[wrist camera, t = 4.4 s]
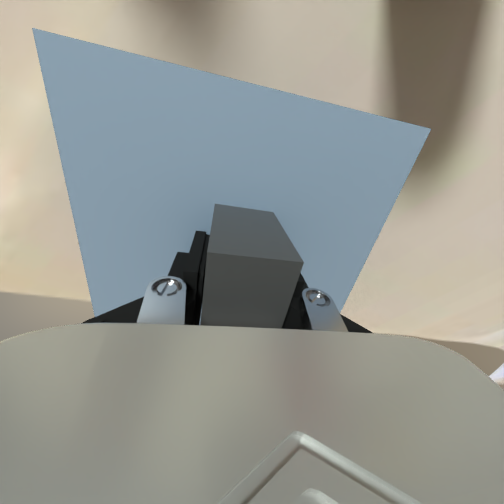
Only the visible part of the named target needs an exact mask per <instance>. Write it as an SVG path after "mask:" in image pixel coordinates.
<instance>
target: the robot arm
mask: <svg viewBox="0 0 504 504" xmlns="http://www.w3.org/2000/svg"><path fill="white" fill-rule="evenodd" d="M209 237H210V235H208V234H206V232H205V231H196V232H195V235H194V238H193V242H192V245H191V248H190V251H189V253H186V252H177V254H176V257H175V259H174V261H173V264H172V266H171V269H170V271H169V273H168V276H163V277H159V278H156V279H154V280H152V281H151V282H150V283H149V284H148V286H147V289H146V292H145V296H144V297H141V298H139V299H137V300H134V301H132V302H130V303H127V304H125V305H122V306H120V307H118V308H115V309H113V310H111V311H108V312H106V313H103V314H101V315H99V316H96V317H94V318H92V319H89V320H87V321H85V322H83V323H81V324H73V325H64V326H56V327H51V328H46V329H42V330H37V331H32V332H28V333H24V334H21V335H18V336H14V337H11V338H8V339H5V340H2V341H0V504H504V390H503V389H502V388H501V387H500V386H499V385H497V384H496V383H495V382H494V381H493V380H492V379H491V378H490V377H488V376H487V375H486V374H484V372H482V371H481V370H480V369H479V368H478V367H477V366H475V365H474V364H473V363H472V362H470V361H469V360H468V359H467V358H465V357H464V356H462V355H461V354H459V353H457V352H455V351H453V350H451V349H448V348H446V347H444V346H441V345H438V344H435V343H432V342H430V341H426V340H422V339H417V338H413V337H407V336H399V335H388V334H376V333H372V332H371V331H369V330H367V329H365V328H364V327H362V326H360V325H358V324H357V323H355V322H353V321H351V320H350V319H348V318H346V317H344V316H343V315H341V314H340V313H339V311H338V309H337V307H336V305H335V303H334V301H333V299H332V298H331V297H330V296H329V295H328V294H327V293H325V292H324V291H322V290H319V289H316V288H309V287H308V285H307V283H306V282H305V280H304V278H303V276H302V274H301V273H300V276H299V278H298V281H297V284H296V287H295V290H294V293H293V296H292V299H291V302H290V305H289V308H288V311H287V314H286V317H285V319H284V322H283V325H282V328H281V329H276V328H253V327H229V326H203V325H199V323H200V316H201V309H202V301H203V291H204V280H205V269H206V259H207V250H208V244H209Z"/></svg>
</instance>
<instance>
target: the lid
mask: <svg viewBox="0 0 504 504" xmlns="http://www.w3.org/2000/svg"><path fill="white" fill-rule="evenodd" d="M32 30H33V34H34V39H35V43H36V48H37V53H38V57H39V62H40V66H41V71H42V76H43V80H44V85H45V89H46V94H47V99H48V103H49V108H50V112H51V117H52V122H53V126H54V131H55V135H56V140H57V145H58V149H59V154H60V158H61V163H62V168H63V172H64V177H65V181H66V186H67V191H68V195H69V200H70V204H71V209H72V214H73V218H74V223H75V227H76V232H77V237H78V241H79V246H80V250H81V255H82V260H83V264H84V269H85V273H86V278H87V283H88V287H89V292H90V296H91V301H92V306H93V310H94V315H95V317H96V316H99V315H101V314H103V313H106V312H108V311H111V310H113V309H115V308H118V307H120V306H122V305H125V304H127V303H130V302H132V301H134V300H137V299H139V298H141V297H144V296H145V292H146V289H147V286H148V284H149V283H150V282H151V281H152V280H154V279H156V278H159V277H163V276H168V273H169V271H170V269H171V266H172V264H173V261H174V259H175V257H176V254H177V252H186V253H189V251H190V248H191V245H192V242H193V238H194V235H195V232H196V231H205V232H206V234H208V235H210V237H209V244H208V250H207V259H206V269H205V280H204V291H203V301H202V309H201V316H200V323H199V325H203V326H229V327H253V328H276V329H281V328H282V325H283V322H284V319H285V317H286V314H287V311H288V308H289V305H290V302H291V299H292V296H293V293H294V290H295V287H296V284H297V281H298V278H299V276H300V273H301V274H302V276H303V278H304V280H305V282H306V283H307V285H308V287H309V288H316V289H319V290H322V291H324V292H325V293H327V294H328V295H329V296H330V297H331V298H332V299H333V301H334V303H335V305H336V307H337V309H338V311H339V313H340V312H341V310H342V308H343V306H344V304H345V302H346V300H347V298H348V296H349V294H350V292H351V290H352V288H353V286H354V284H355V282H356V280H357V278H358V276H359V274H360V272H361V270H362V268H363V266H364V264H365V261H366V259H367V257H368V255H369V253H370V251H371V249H372V247H373V245H374V243H375V241H376V239H377V237H378V235H379V233H380V231H381V229H382V227H383V225H384V223H385V221H386V219H387V217H388V215H389V213H390V211H391V209H392V207H393V205H394V203H395V201H396V199H397V197H398V195H399V193H400V191H401V189H402V187H403V185H404V183H405V181H406V179H407V177H408V175H409V173H410V171H411V169H412V167H413V165H414V163H415V161H416V159H417V157H418V155H419V153H420V151H421V149H422V147H423V145H424V143H425V141H426V139H427V137H428V135H429V133H430V131H431V129H430V128H426V127H422V126H418V125H414V124H410V123H406V122H402V121H398V120H394V119H390V118H386V117H382V116H378V115H374V114H370V113H367V112H363V111H359V110H355V109H351V108H347V107H343V106H339V105H335V104H331V103H327V102H323V101H319V100H315V99H311V98H307V97H303V96H299V95H295V94H291V93H287V92H284V91H280V90H276V89H272V88H268V87H264V86H260V85H256V84H252V83H248V82H244V81H240V80H236V79H232V78H228V77H224V76H220V75H216V74H212V73H208V72H204V71H201V70H197V69H193V68H189V67H185V66H181V65H177V64H173V63H169V62H165V61H161V60H157V59H153V58H149V57H145V56H141V55H137V54H133V53H129V52H125V51H121V50H118V49H114V48H110V47H106V46H102V45H98V44H94V43H90V42H86V41H82V40H78V39H74V38H70V37H66V36H62V35H58V34H54V33H50V32H46V31H42V30H38V29H35V28H32Z"/></svg>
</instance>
